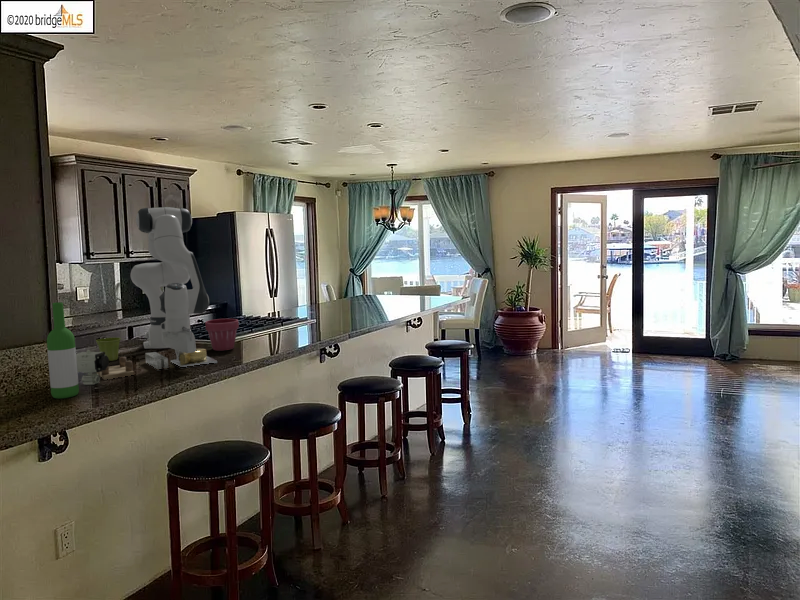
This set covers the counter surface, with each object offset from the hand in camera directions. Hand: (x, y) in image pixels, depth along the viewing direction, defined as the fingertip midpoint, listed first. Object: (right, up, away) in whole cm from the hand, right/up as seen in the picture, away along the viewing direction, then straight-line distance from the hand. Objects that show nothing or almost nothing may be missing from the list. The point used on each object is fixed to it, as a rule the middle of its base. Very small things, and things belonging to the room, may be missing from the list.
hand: (180, 360), depth 230 cm
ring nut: (+3, 0, +4) cm, 5 cm away
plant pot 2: (+6, +1, +36) cm, 36 cm away
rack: (-20, -4, -11) cm, 23 cm away
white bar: (-10, -2, +3) cm, 11 cm away
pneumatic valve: (-21, -6, -26) cm, 34 cm away
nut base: (+3, -1, +6) cm, 7 cm away
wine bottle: (-21, -7, -41) cm, 47 cm away
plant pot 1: (-35, -2, +17) cm, 39 cm away
